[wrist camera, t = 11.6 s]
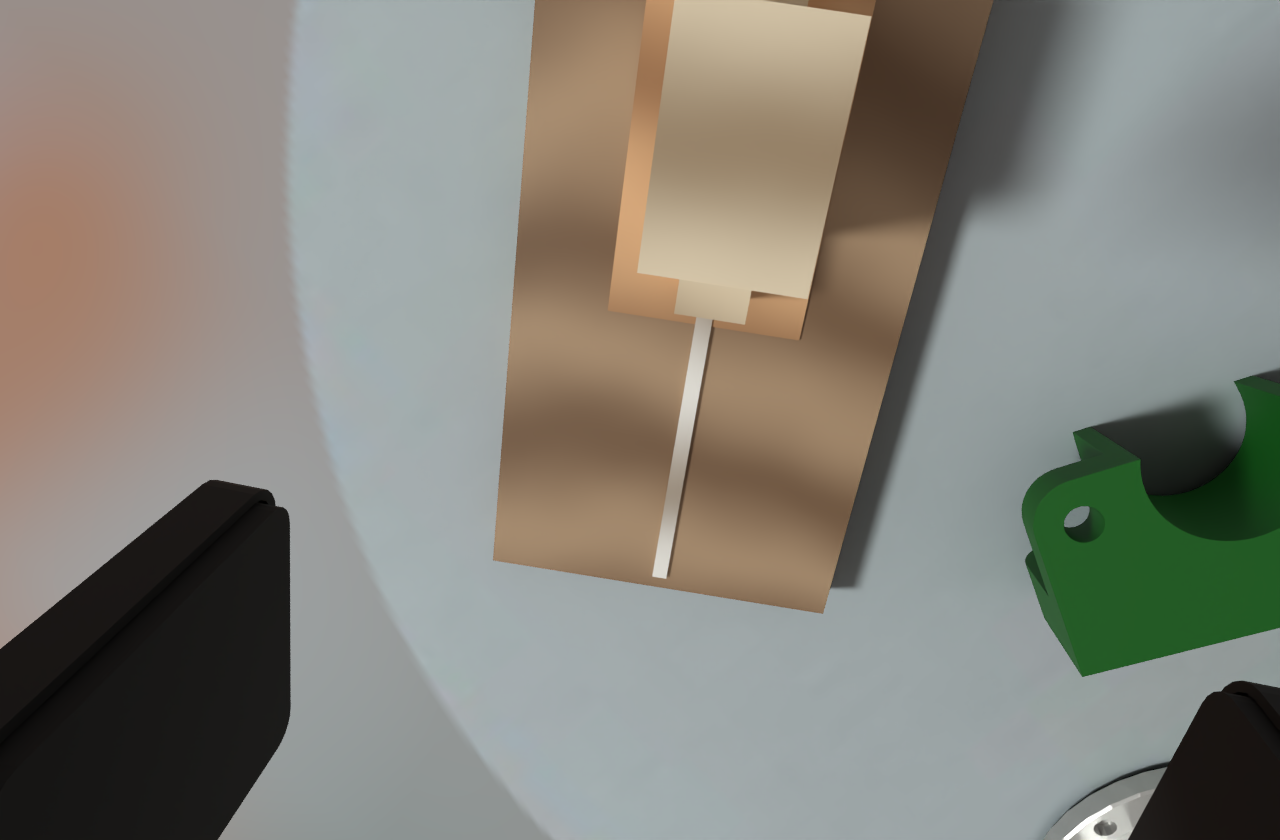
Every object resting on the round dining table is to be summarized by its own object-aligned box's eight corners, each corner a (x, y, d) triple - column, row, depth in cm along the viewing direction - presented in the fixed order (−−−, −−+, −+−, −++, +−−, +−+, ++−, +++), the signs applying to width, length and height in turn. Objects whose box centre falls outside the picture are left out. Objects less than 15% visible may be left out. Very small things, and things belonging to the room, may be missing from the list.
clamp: (1214, 349, 32) (1502, 340, 23) (1260, 498, 33) (1555, 544, 24) (936, 477, 30) (1133, 520, 21) (990, 631, 31) (1203, 736, 22)
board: (818, 589, 33) (823, 616, 31) (502, 538, 33) (492, 562, 31) (1000, -83, 23) (1020, -91, 22) (557, -148, 23) (546, -159, 22)
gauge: (775, 304, 26) (789, 378, 21) (645, 284, 27) (626, 352, 21) (853, -69, 22) (897, -97, 17) (698, -92, 22) (692, -127, 17)
